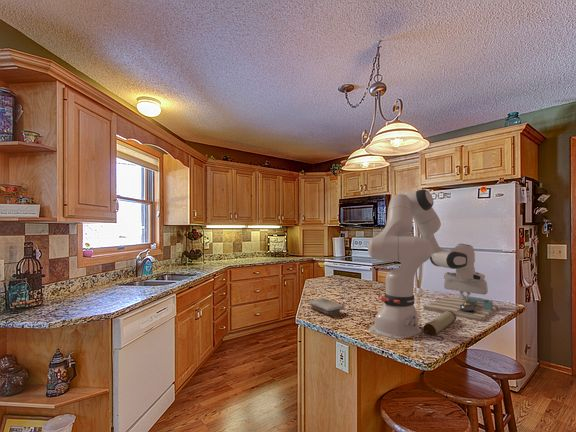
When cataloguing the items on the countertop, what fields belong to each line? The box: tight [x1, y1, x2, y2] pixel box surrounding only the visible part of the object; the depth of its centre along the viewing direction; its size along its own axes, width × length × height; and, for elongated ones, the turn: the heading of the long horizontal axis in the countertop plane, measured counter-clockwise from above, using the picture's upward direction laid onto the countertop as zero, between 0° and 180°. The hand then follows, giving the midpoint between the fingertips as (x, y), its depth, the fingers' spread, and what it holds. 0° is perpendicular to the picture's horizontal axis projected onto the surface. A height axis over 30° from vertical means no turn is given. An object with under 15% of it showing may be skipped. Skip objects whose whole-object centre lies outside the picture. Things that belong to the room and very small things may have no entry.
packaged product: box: [307, 297, 345, 316], centre depth 152 cm, size 18×5×10 cm
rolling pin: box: [422, 311, 457, 337], centre depth 129 cm, size 32×6×5 cm, turn 134°
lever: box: [460, 300, 477, 312], centre depth 154 cm, size 21×6×3 cm, turn 141°
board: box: [423, 296, 499, 322], centre depth 157 cm, size 29×26×2 cm
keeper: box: [467, 296, 493, 311], centre depth 153 cm, size 3×10×4 cm, turn 44°
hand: (465, 299), depth 163 cm, fingers closed
